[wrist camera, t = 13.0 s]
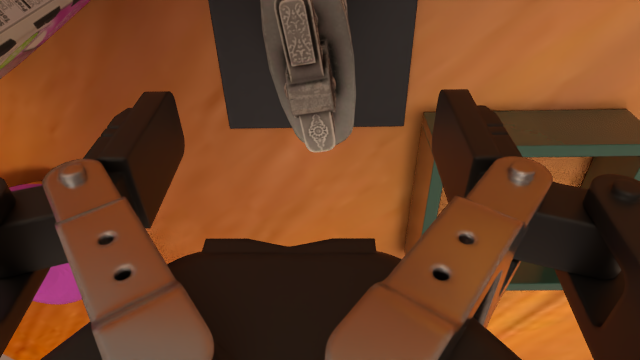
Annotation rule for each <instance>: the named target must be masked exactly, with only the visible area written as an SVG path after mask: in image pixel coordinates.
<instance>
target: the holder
mask: <svg viewBox="0 0 640 360" xmlns="http://www.w3.org/2000/svg"><path fill="white" fill-rule="evenodd" d="M493 112H494V113H496V114H497V115H498V117H499V118H500V120H501V122H502V123H503V127H505V128H506V130H507V132H508V135H510V137H511V138H512V140H513V142H514V143H515V145H516V147H517V148H518V150H519V151H520V153H521V155H522V156H523V157H594V158H593V160H592V162H591V165H590V167H589V169H588V171H587V174H586V176H585V178H584V181H583V183H582V185H581V187H580V188H584V189H588V188H589V186H590V184H591V182H592V180H593V179H594V178H595V177H597V176H600V175H604V174H617V175H623V176H627V177H631V178H633V179H636V180H638V181H640V120H639V119H637V118H636V117H635V116H634V115H633V114H632V113H631V112H630V111H628V110H627V109H610V110H541V111H493ZM435 115H436V112H424V113H423V120H422V127H421V134H420V142H419V149H418V156H417V163H416V170H415V177H414V185H413V192H412V199H411V206H410V213H409V221H408V228H407V235H406V242H405V250H404V252H405V255H406V254H407V253H408V252H409V250H410V249H411V248H412V247H413V246H414V244H415V243H416V242H417V241H418V240H419V238H420V237H421V236H422V235H423V234H424V232H425V231H426V230H427V229H428V228H429V226H430V225H431V224H432V223H433V222H434V220H435V219H436V218H437V214H438V208H439V203H440V198H441V193H442V187H443V185H442V182H441V178H440V175H439V172H438V169H437V166H436V163H435V160H434V157H433V153H432V134H433V128H434V121H435ZM522 290H563V288H562V286H561V284H560V281H559V279H558V277H557V275H556V272H555V269H552V268H548V267H544V266H540V265H536V264H532V263H528V262H524V261H521V263H520V265H519V267H518V268H517V270H516V272H515V274H514V276H513V277H512V279H511V281H510V283H509V285H508V286H507V288H506V290H505V291H522Z"/></svg>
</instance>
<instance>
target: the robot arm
mask: <svg viewBox="0 0 640 360" xmlns="http://www.w3.org/2000/svg"><path fill="white" fill-rule="evenodd" d="M184 146H185V144H184V135H183V131H182V127H181V123H180V119H179V115H178V111H177V107H176V103H175V99H174V96H173V94H172V93H171V92H144V93H143V94H142V95H141V97H140V98H139V99H138V101H137V102H136V104H135V105H134V106H133V108H127V109H126V110H124V111H123V112H121V113H120V114H118V115H117V116H115V117H114V118H113V120H112V121H111V122H110V124H109V125H108V126H107V129H105V130H104V131H103V133H102V134H101V137H99V138H98V139H97V141H96V142H95V143H94V145H93V146H92V147H91V149H90V150H89V151H88V153H87V154H86V155H85V157H84V158H83V159H77V160H72V161H69V162H66V163H63V164H61V165H59V166H57V167H55V168H53V169H52V170H51V171H49V172H48V173H47V174H46V175H45V177H44V179H43V181H42V185H40V186H36V187H31V188H26V189H20V190H15V191H11V190H10V189H9V187H8V185H7V183H6V182H5V180H4V179H2V178H0V357H1V355H2V354H3V352H4V350H5V348H6V347H7V345H8V343H9V341H10V340H11V338H12V336H13V334H14V332H15V331H16V329H17V327H18V325H19V324H20V322H21V320H22V318H23V316H24V315H25V313H26V311H27V309H28V308H29V306H30V304H31V302H32V300H33V299H34V297H35V295H36V293H37V292H38V290H39V288H40V286H41V284H42V283H43V281H44V279H45V277H46V275H47V274H48V272H49V270H50V268H51V267H54V266H58V265H62V264H66V263H69V265H70V268H71V270H72V273H73V276H74V278H75V281H76V284H77V286H78V289H79V292H80V294H81V297H82V300H83V302H84V305H85V308H86V310H87V313H88V316H89V318H90V321H91V322H89V323H88V324H87V325H85V326H84V327H83V328H81V329H80V330H79V331H77V332H76V333H75V334H73V335H72V336H71V337H70V338H68V339H67V340H66V341H64V342H63V343H62V344H60V345H59V346H58V347H56V348H55V349H54V350H52V351H51V352H50V353H48V354H47V355H46V356H45V357H43V358H42V359H41V360H522V359H520V358H519V357H518V356H517V355H516V354H515V353H514V352H512V351H511V350H510V349H509V348H508V347H507V346H506V345H504V344H503V343H502V342H501V341H500V340H499V339H498V338H496V337H495V336H494V335H493V334H492V333H491V332H490V331H488V330H487V329H486V327H487V325H488V323H489V321H490V318H491V316H492V314H493V312H494V310H495V308H496V306H497V304H498V303H499V301H500V299H501V297H502V295H503V294H504V292H505V290H506V288H507V286H508V285H509V283H510V281H511V279H512V277H513V276H514V274H515V272H516V270H517V268H518V267H519V265H520V263H521V261H524V262H528V263H532V264H536V265H540V266H544V267H548V268H552V269H555V272H556V275H557V277H558V279H559V281H560V284H561V286H562V288H563V291H564V293H565V295H566V297H567V300H568V302H569V304H570V307H571V309H572V311H573V313H574V316H575V318H576V320H577V322H578V325H579V327H580V329H581V332H582V334H583V336H584V338H585V341H586V343H587V345H588V348H589V350H590V352H591V354H592V357H593V359H594V360H640V181H638V180H636V179H633V178H631V177H627V176H623V175H617V174H604V175H600V176H597V177H595V178H594V179H593V180H592V182H591V184H590V186H589V188H588V189H584V188H579V187H574V186H569V185H564V184H559V183H556V182H552V181H553V178H552V175H551V173H550V171H549V170H548V169H547V168H546V167H544V166H543V165H541V164H540V163H538V162H536V161H533V160H531V159H527V158H523V156H522V155H521V153H520V151H519V150H518V148H517V147H516V145H515V143H514V142H513V140H512V138H511V137H510V135H508V132H507V130H506V128H505V127H503V123H502V122H501V120H500V118H499V117H498V115H497V114H496V113H494V112H493V111H492V110H490V109H489V108H487V107H486V106H477V105H476V104H475V102H474V100H473V98H472V96H471V94H470V93H469V91H468V90H467V89H459V90H441V91H440V94H439V97H438V103H437V109H436V115H435V121H434V128H433V134H432V153H433V157H434V160H435V163H436V166H437V169H438V172H439V175H440V178H441V182H442V185H443V188H444V191H445V194H446V197H447V200H448V205H447V206H446V207H445V208H444V210H443V211H442V212H441V213H440V214H439V216H438V217H437V218H436V219H435V220H434V222H433V223H432V224H431V225H430V226H429V228H428V229H427V230H426V231H425V232H424V234H423V235H422V236H421V237H420V238H419V240H418V241H417V242H416V243H415V244H414V246H413V247H412V248H411V249H410V250H409V252H408V253H407V254H406V255H405V256H404V258H403V259H399V258H397V257H395V256H392V255H389V254H386V253H383V252H378V251H376V246H375V239H328V240H323V241H318V242H313V243H308V244H302V245H297V246H291V247H287V246H281V245H276V244H271V243H266V242H261V241H256V240H251V239H206V240H205V243H204V247H203V250H202V252H197V253H194V254H190V255H187V256H184V257H182V258H179V259H177V260H175V261H173V262H171V263H169V264H166V262H165V261H164V259H163V257H162V256H161V254H160V253H159V251H158V249H157V248H156V246H155V244H154V243H153V241H152V239H151V238H150V236H149V234H148V233H147V231H146V229H145V228H151V226H152V223H153V221H154V219H155V217H156V215H157V212H158V210H159V208H160V206H161V204H162V201H163V199H164V197H165V195H166V192H167V190H168V188H169V186H170V184H171V181H172V179H173V177H174V175H175V173H176V170H177V168H178V166H179V164H180V161H181V159H182V157H183V154H184Z"/></svg>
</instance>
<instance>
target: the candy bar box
mask: <svg viewBox="0 0 640 360" xmlns="http://www.w3.org/2000/svg"><path fill="white" fill-rule="evenodd" d="M89 1H90V0H0V79H1V78H2V77H3V76H5V75H6V74H7V73H8V72H10V71H11V70H12V69H13V68H15V67H16V66H17V65H18V64H19V63H21V62H22V61H23V60H24V59H25V58H27V57H28V56H29V55H30V54H31V53H32V52H34V51H35V50H36V49H37V48H38V47H39V46H40V45H41V44H43V43H44V42H45V41H46V40H47V39H48V38H49V37H50V36H52V35H53V34H54V33H55V32H56V31H57V30H58V29H59V28H61V27H62V26H63V25H64V24H65V23H66V22H67V21H68V20H69V19H71V18H72V17H73V16H74V15H75V14H76V13H77V12H78V11H79V10H80V9H82V8H83V7H84V6H85V5H86V4H87V3H88V2H89Z"/></svg>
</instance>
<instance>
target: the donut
mask: <svg viewBox="0 0 640 360" xmlns="http://www.w3.org/2000/svg"><path fill="white" fill-rule="evenodd" d="M40 185H42V181H38V182H31V183H28V184H24V185H17V186H14V187H10V188H9V189H10V190H11V191H15V190H20V189H26V188H31V187H36V186H40ZM81 299H82V297H81V294H80V292H79V289H78V286H77V284H76V281H75V278H74V276H73V273H72V270H71V268H70V265H69V263H66V264H62V265H58V266H54V267H51V268H50V270H49V272H48V274H47V275H46V277H45V279H44V281H43V283H42V284H41V286H40V288H39V290H38V292H37V293H36V295H35V297H34V299H33V301H37V302H42V303H47V304H66V303H72V302H75V301H78V300H81Z"/></svg>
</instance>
